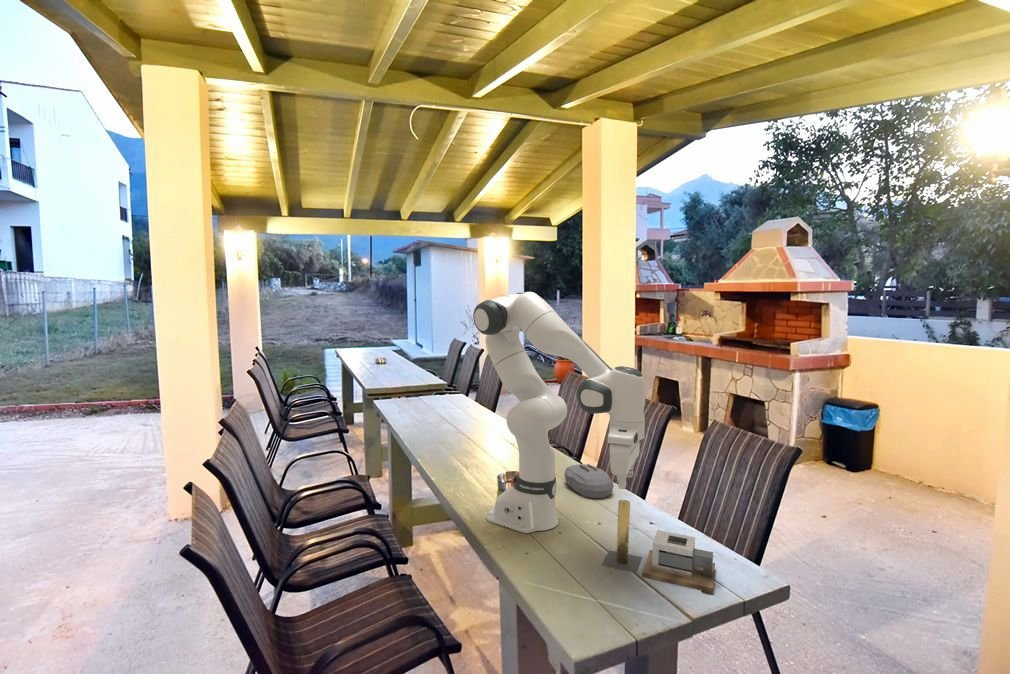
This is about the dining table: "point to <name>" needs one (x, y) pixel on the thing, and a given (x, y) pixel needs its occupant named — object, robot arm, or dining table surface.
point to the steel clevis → (679, 555)
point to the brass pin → (623, 531)
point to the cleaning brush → (589, 481)
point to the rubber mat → (630, 566)
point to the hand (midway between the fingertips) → (625, 482)
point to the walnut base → (681, 577)
